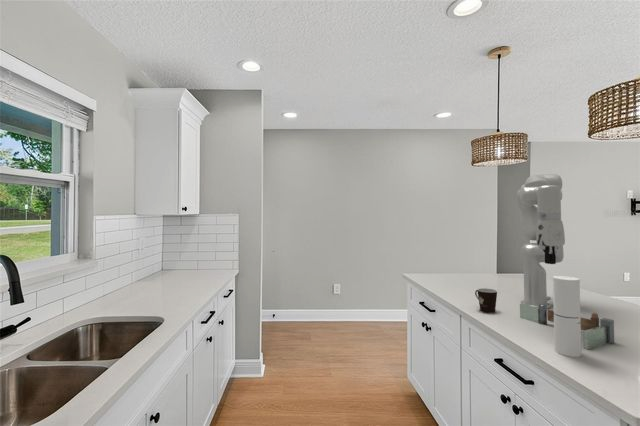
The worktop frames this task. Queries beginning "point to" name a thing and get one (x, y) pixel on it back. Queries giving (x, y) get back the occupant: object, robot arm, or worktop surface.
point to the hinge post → (534, 313)
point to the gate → (585, 323)
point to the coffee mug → (487, 299)
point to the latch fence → (599, 334)
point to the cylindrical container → (567, 315)
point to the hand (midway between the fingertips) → (550, 263)
